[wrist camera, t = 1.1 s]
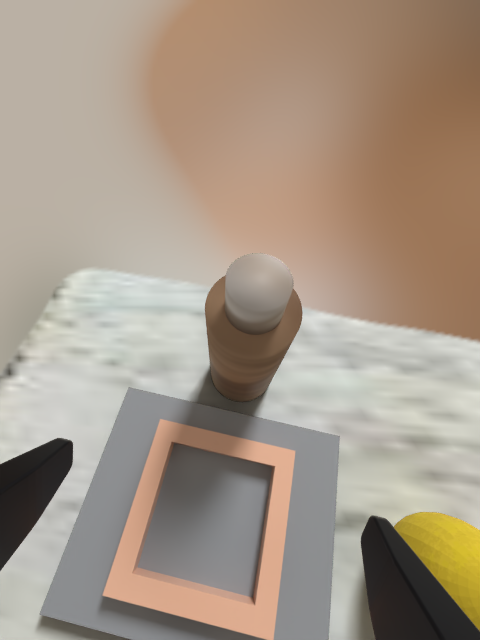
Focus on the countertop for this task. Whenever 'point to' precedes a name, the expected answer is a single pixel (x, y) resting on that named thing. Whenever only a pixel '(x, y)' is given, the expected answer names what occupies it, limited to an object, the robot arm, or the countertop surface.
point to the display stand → (203, 528)
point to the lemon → (448, 555)
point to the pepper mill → (250, 325)
